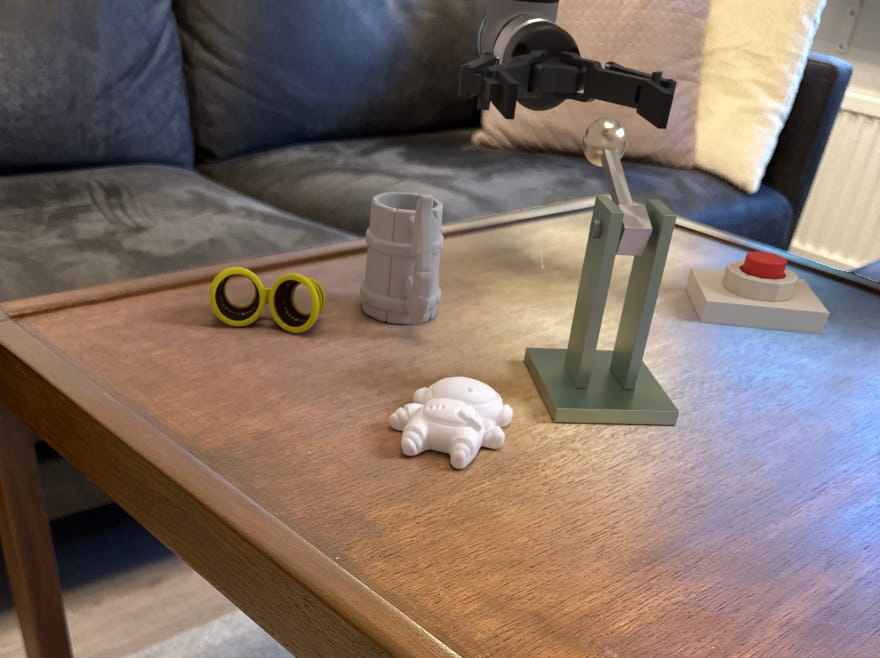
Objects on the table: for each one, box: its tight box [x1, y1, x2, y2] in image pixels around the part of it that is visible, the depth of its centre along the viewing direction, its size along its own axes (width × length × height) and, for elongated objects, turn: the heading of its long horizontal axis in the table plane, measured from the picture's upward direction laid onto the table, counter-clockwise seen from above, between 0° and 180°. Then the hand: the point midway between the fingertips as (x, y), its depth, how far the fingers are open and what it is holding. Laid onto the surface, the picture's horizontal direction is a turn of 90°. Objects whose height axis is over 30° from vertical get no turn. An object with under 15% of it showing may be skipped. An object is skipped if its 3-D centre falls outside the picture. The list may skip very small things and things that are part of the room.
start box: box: [684, 259, 830, 335], centre depth 100 cm, size 12×10×4 cm
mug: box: [359, 191, 445, 326], centre depth 88 cm, size 8×12×12 cm, turn 14°
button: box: [742, 250, 788, 280], centre depth 98 cm, size 4×4×2 cm
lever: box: [582, 116, 653, 257], centre depth 77 cm, size 14×4×4 cm, turn 6°
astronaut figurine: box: [388, 376, 514, 470], centre depth 74 cm, size 9×12×3 cm
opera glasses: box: [208, 266, 327, 334], centre depth 87 cm, size 10×5×5 cm, turn 85°
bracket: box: [523, 195, 680, 426], centre depth 78 cm, size 12×10×15 cm
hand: (590, 106), depth 84 cm, fingers open, 13 cm apart
